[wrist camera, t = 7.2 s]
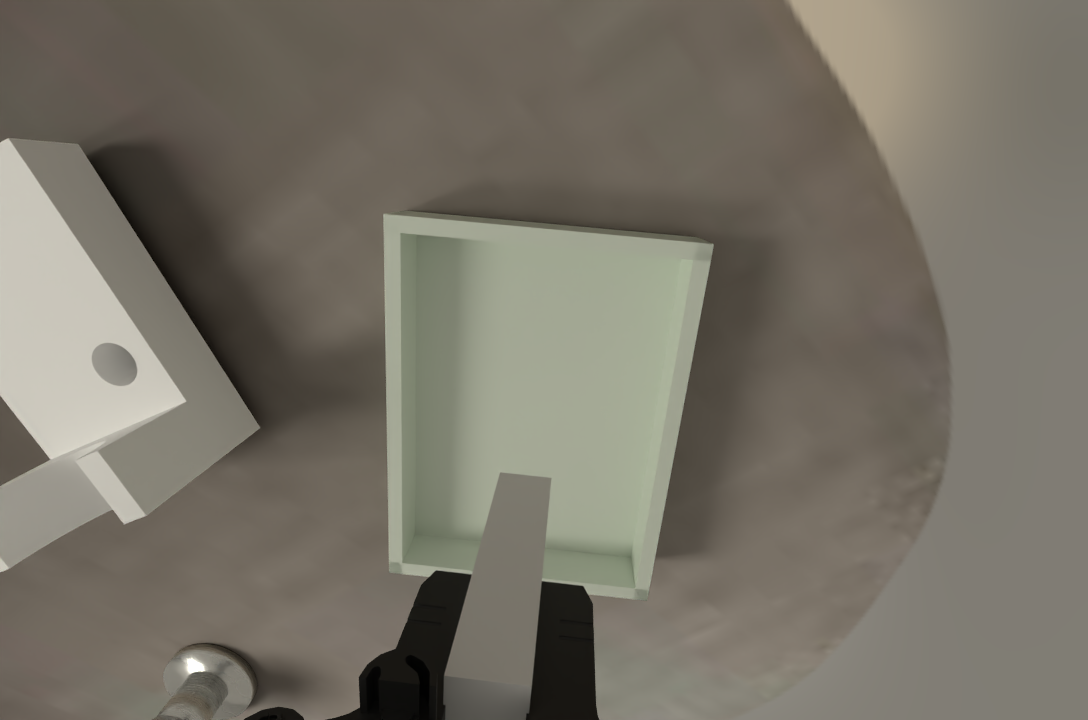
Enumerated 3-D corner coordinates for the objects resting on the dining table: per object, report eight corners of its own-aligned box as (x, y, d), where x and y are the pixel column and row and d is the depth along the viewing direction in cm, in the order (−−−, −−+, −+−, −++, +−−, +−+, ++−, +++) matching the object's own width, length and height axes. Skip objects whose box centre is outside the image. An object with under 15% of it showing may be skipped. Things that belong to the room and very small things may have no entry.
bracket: (271, 419, 24) (146, 515, 17) (153, 467, 26) (-10, 576, 18) (99, 145, 21) (-150, 124, 14) (-29, 216, 22) (-319, 230, 15)
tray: (406, 535, 26) (389, 572, 23) (406, 210, 21) (383, 214, 18) (639, 560, 25) (647, 600, 23) (697, 237, 20) (713, 244, 18)
